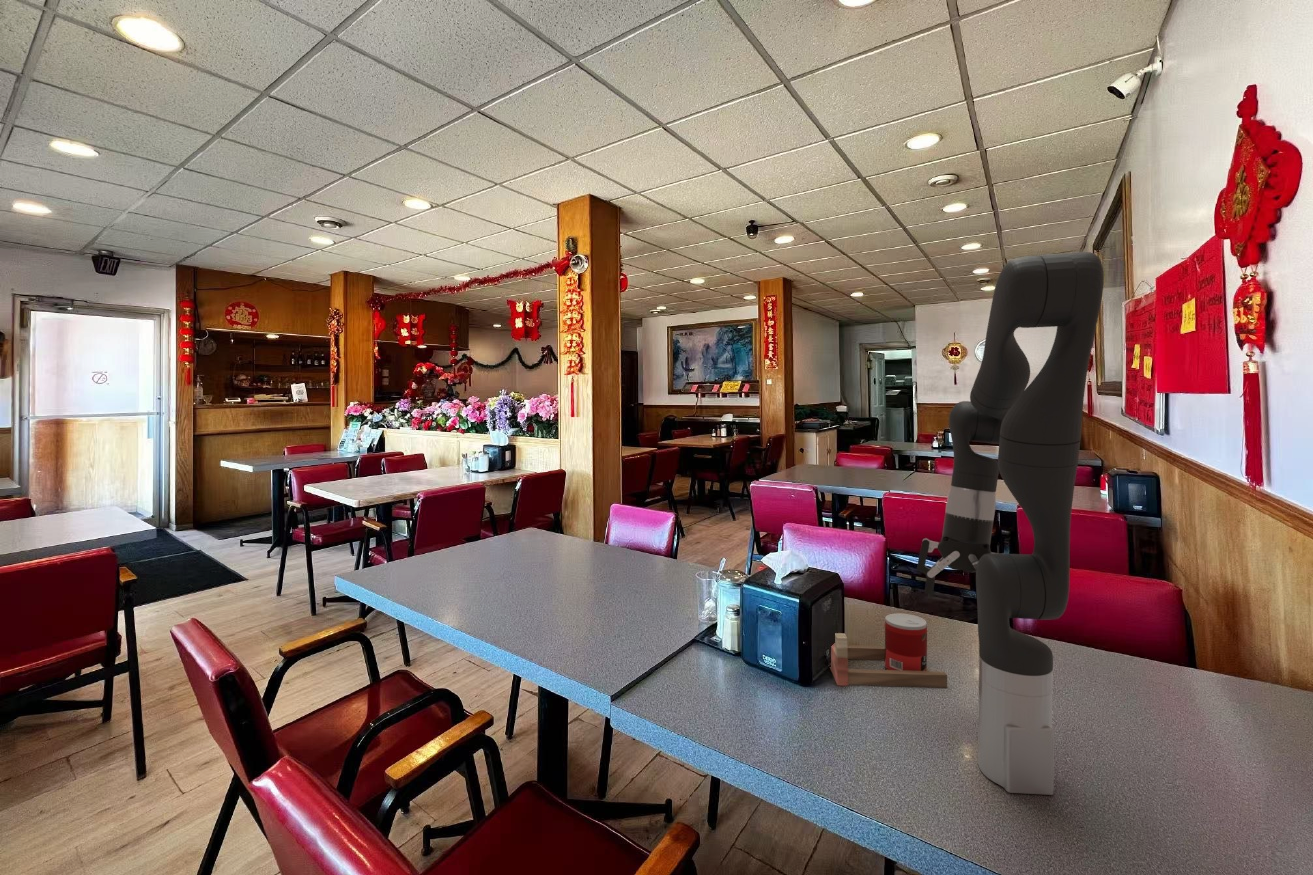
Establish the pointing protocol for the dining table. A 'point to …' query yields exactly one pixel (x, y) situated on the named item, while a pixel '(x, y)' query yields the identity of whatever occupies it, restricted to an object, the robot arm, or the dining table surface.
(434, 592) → the dining table surface
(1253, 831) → the dining table surface
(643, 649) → the dining table surface
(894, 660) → the canned food
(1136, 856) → the dining table surface
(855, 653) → the rail
